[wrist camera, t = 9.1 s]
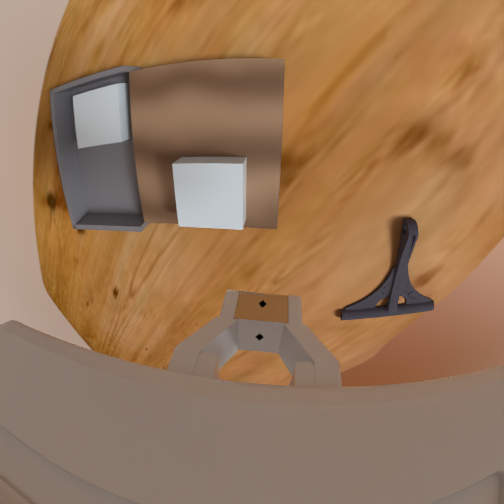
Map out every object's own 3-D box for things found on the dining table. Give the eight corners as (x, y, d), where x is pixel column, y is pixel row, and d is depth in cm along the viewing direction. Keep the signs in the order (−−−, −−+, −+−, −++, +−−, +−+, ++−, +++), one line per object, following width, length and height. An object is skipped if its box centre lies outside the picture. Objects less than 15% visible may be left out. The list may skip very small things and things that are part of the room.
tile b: (181, 157, 23) (172, 163, 21) (246, 157, 23) (242, 163, 21) (186, 215, 27) (178, 226, 25) (246, 218, 26) (242, 229, 24)
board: (141, 72, 21) (129, 71, 19) (284, 62, 20) (284, 59, 18) (153, 212, 30) (144, 222, 28) (277, 217, 29) (276, 229, 27)
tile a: (86, 94, 22) (72, 96, 20) (130, 82, 21) (117, 83, 19) (90, 143, 25) (78, 148, 23) (133, 137, 25) (121, 141, 23)
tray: (69, 87, 22) (49, 90, 19) (141, 66, 21) (123, 65, 18) (88, 215, 31) (73, 228, 28) (154, 217, 30) (141, 231, 27)
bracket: (453, 215, 26) (464, 225, 24) (428, 305, 34) (434, 318, 32) (347, 216, 29) (352, 228, 26) (339, 313, 36) (341, 328, 34)
